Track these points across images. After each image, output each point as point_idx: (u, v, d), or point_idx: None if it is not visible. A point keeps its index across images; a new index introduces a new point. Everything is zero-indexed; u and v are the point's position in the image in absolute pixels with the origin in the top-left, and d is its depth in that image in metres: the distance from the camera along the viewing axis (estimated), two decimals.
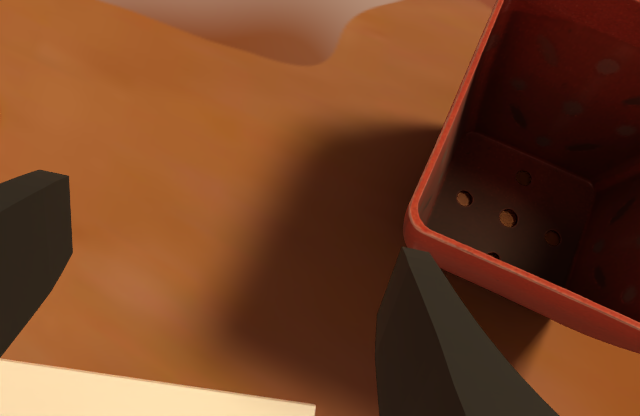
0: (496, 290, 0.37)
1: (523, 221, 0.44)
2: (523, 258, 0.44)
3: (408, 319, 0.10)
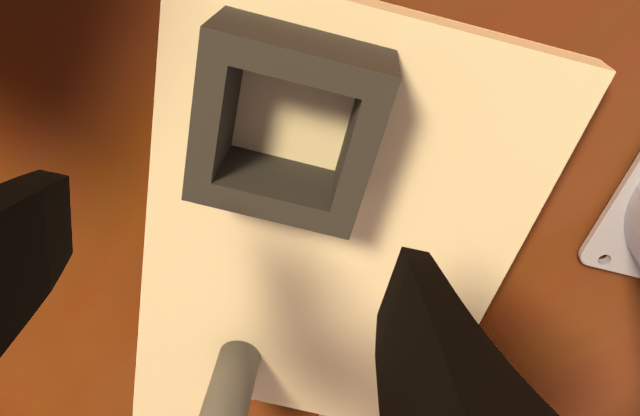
0: None
1: None
2: None
3: (407, 319, 0.10)
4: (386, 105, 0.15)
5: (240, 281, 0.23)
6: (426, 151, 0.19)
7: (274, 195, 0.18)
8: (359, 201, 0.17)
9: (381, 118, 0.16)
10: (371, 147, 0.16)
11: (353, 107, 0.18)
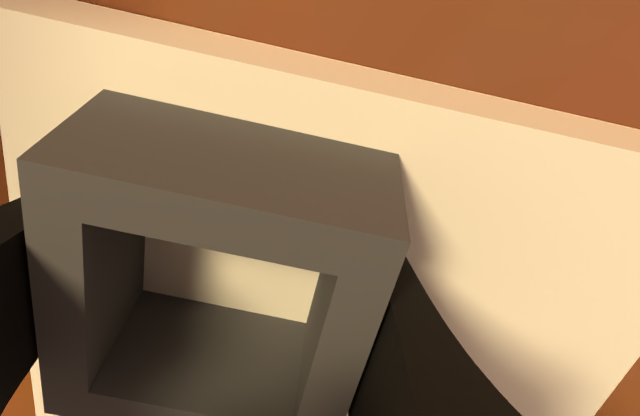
0: None
1: None
2: None
3: None
4: (383, 284, 0.08)
5: None
6: (448, 297, 0.12)
7: (199, 404, 0.10)
8: None
9: (374, 304, 0.08)
10: (358, 346, 0.09)
11: None
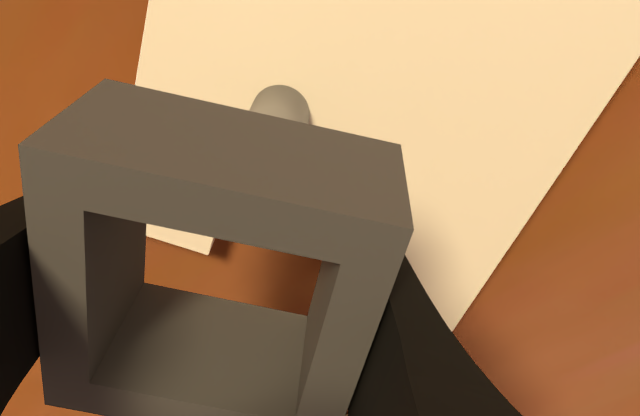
0: None
1: None
2: None
3: None
4: (386, 273, 0.08)
5: None
6: None
7: (200, 395, 0.10)
8: (343, 409, 0.10)
9: (377, 293, 0.08)
10: (360, 335, 0.09)
11: None
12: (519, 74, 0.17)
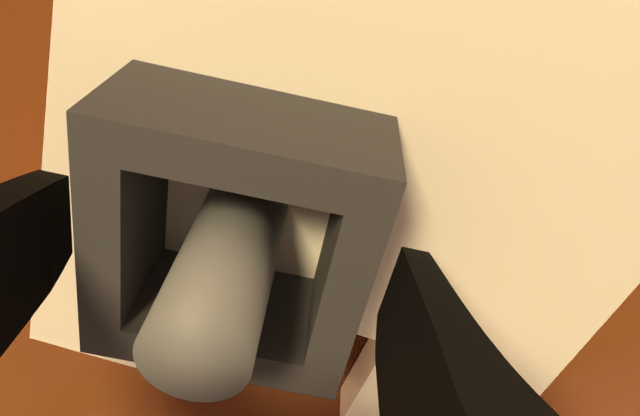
0: None
1: None
2: None
3: (408, 319, 0.10)
4: (383, 223, 0.09)
5: (274, 13, 0.11)
6: None
7: None
8: (347, 352, 0.11)
9: (376, 241, 0.10)
10: (362, 281, 0.10)
11: None
12: (589, 160, 0.12)
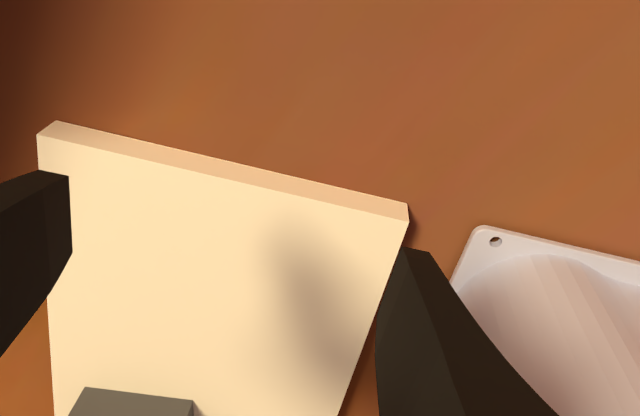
0: None
1: None
2: None
3: (408, 319, 0.10)
4: None
5: (134, 372, 0.27)
6: (269, 277, 0.23)
7: None
8: None
9: None
10: None
11: None
12: (276, 411, 0.28)
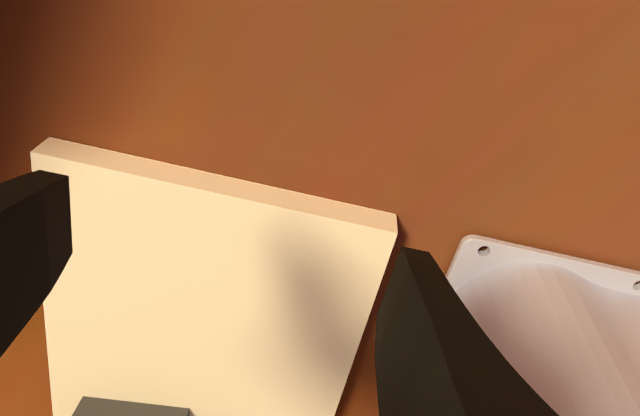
0: None
1: None
2: None
3: (408, 319, 0.10)
4: None
5: (131, 381, 0.27)
6: (262, 288, 0.24)
7: None
8: None
9: None
10: None
11: None
12: None
